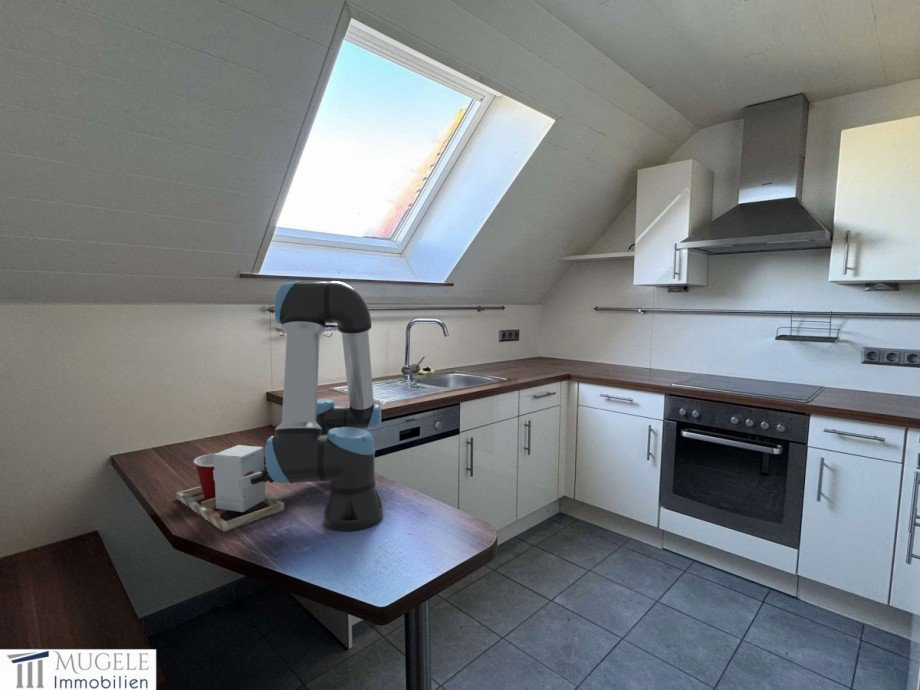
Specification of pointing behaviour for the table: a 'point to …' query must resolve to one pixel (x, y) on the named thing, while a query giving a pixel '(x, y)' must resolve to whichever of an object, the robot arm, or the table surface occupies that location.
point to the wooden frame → (213, 517)
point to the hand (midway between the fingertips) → (225, 480)
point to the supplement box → (236, 466)
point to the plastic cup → (206, 474)
